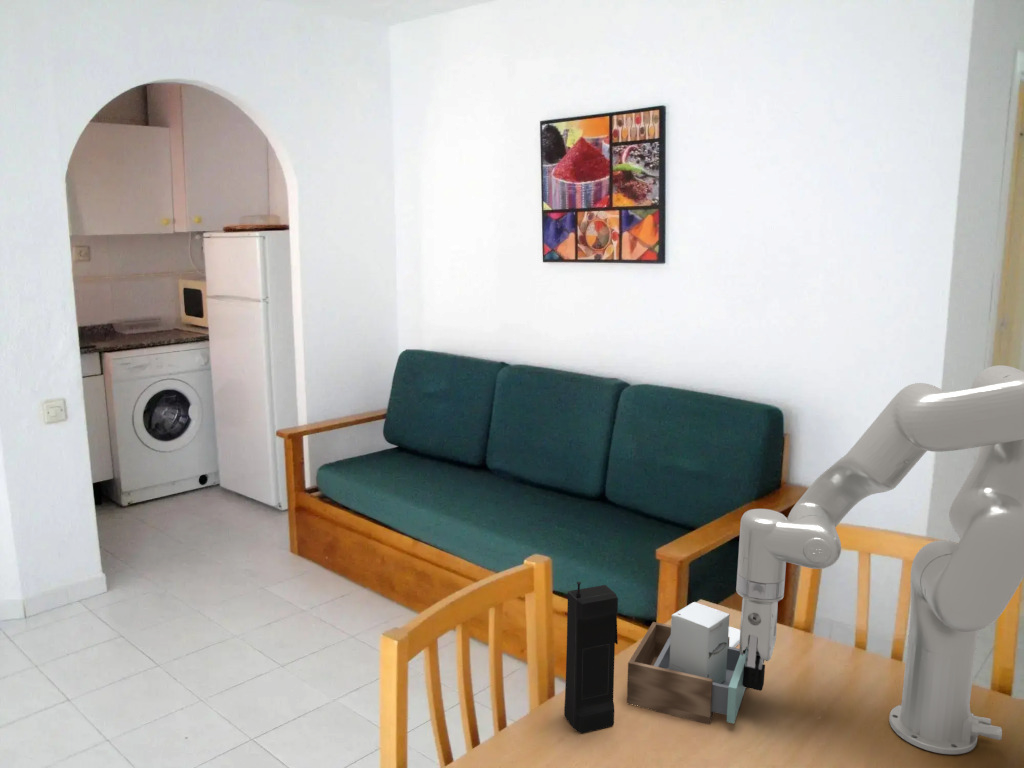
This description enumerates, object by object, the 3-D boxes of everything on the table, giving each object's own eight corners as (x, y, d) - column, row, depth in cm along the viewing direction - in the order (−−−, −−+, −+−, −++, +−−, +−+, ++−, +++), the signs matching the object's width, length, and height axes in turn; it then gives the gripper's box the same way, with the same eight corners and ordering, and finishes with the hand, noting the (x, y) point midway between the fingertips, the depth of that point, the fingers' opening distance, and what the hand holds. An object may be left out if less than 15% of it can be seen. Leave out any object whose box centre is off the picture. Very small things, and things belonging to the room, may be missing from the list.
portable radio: (604, 705, 139) (607, 566, 134) (621, 724, 133) (625, 581, 129) (561, 714, 136) (564, 573, 131) (577, 735, 130) (580, 588, 126)
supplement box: (704, 698, 136) (708, 628, 134) (667, 681, 142) (669, 613, 139) (727, 681, 142) (731, 613, 139) (690, 665, 147) (693, 599, 144)
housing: (727, 675, 148) (729, 637, 146) (709, 724, 133) (711, 681, 132) (651, 659, 154) (653, 621, 152) (626, 703, 139) (628, 662, 138)
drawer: (750, 672, 146) (752, 640, 145) (734, 723, 131) (736, 688, 130) (671, 655, 152) (672, 624, 151) (647, 702, 137) (648, 668, 136)
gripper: (778, 607, 126) (770, 715, 129) (789, 571, 139) (781, 670, 143) (729, 598, 129) (722, 704, 132) (744, 564, 142) (737, 660, 146)
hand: (753, 686), depth 138 cm, fingers closed
